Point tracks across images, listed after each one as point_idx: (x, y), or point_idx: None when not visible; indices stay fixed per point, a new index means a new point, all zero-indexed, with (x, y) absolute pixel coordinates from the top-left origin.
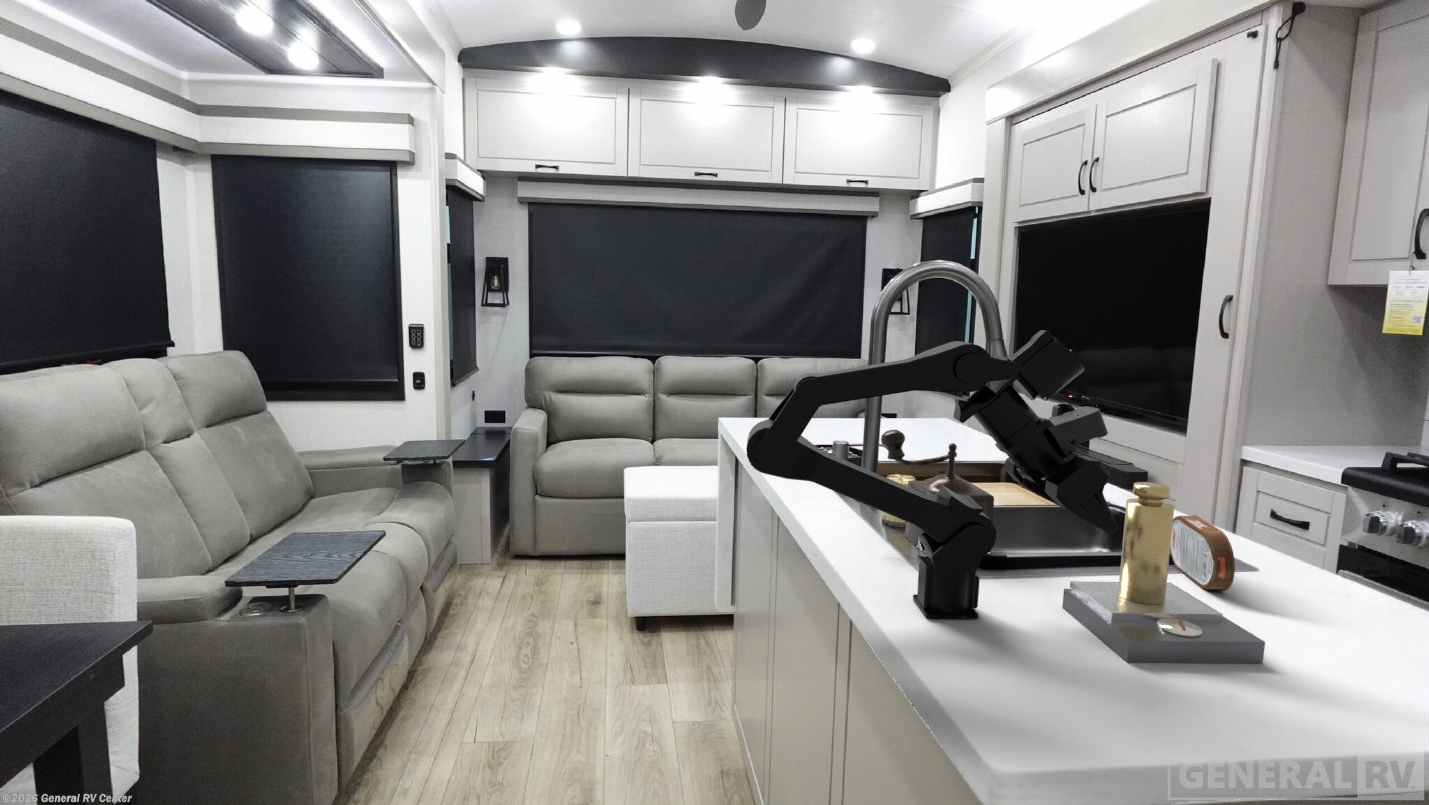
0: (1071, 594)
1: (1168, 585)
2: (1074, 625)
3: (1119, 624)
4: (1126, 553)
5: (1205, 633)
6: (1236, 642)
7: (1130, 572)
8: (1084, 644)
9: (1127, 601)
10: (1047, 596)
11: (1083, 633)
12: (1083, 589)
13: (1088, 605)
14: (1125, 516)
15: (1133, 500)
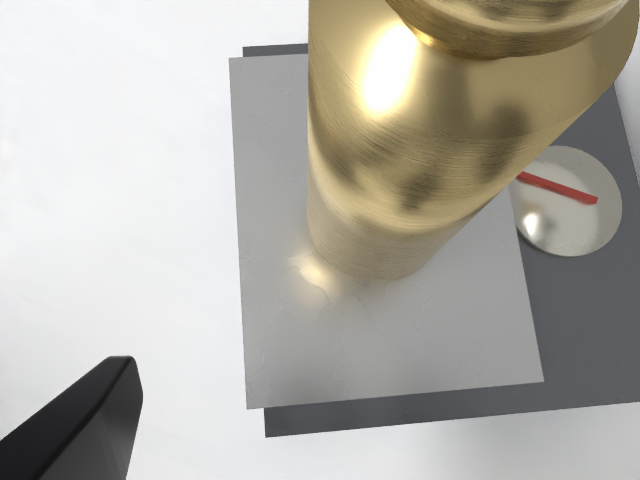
0: (322, 431)
1: (257, 77)
2: (411, 446)
3: (570, 371)
4: (427, 242)
5: (579, 146)
6: (614, 96)
7: (437, 249)
8: (549, 470)
9: (426, 279)
10: (169, 445)
11: (468, 440)
12: (330, 391)
13: (421, 409)
14: (410, 177)
15: (390, 61)
